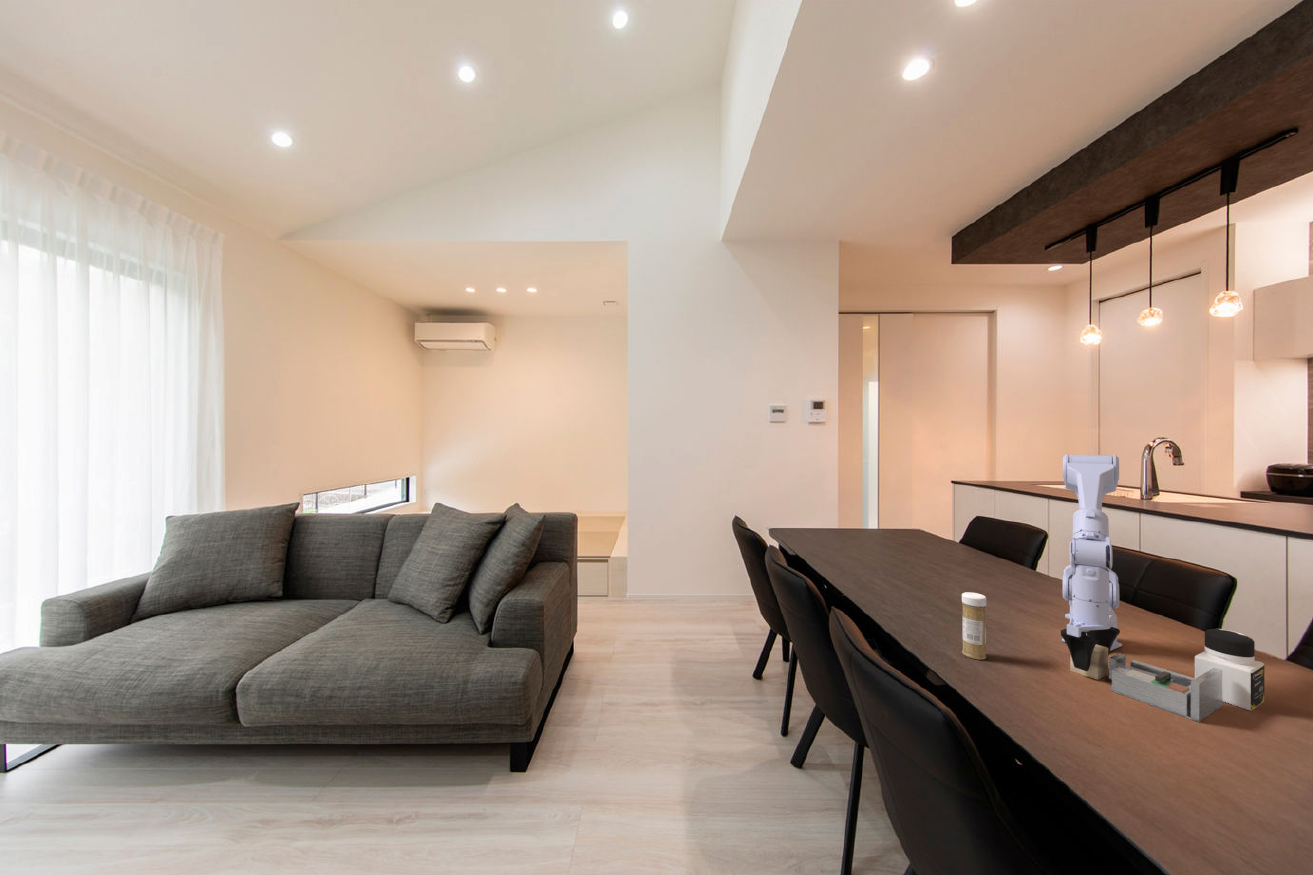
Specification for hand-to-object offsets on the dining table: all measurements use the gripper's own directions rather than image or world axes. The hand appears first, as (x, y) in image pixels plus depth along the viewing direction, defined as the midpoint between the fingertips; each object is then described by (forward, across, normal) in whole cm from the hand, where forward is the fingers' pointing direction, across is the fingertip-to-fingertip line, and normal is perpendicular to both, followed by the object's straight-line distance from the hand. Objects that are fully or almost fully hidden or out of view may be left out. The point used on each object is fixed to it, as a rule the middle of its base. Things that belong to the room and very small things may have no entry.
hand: (1090, 664), depth 101 cm
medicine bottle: (+2, -11, +16) cm, 20 cm away
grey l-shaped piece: (+1, +2, +8) cm, 8 cm away
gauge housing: (+2, 0, +11) cm, 11 cm away
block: (+2, 0, 0) cm, 2 cm away
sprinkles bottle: (+2, +13, -16) cm, 20 cm away
